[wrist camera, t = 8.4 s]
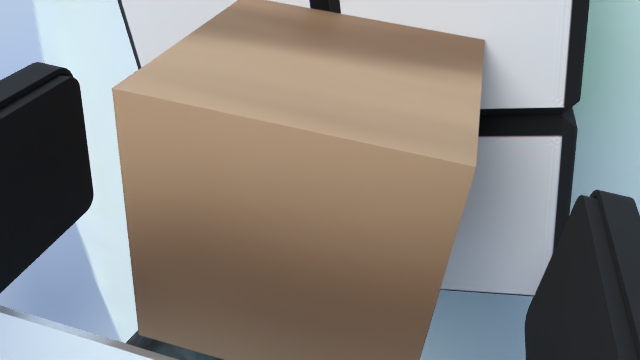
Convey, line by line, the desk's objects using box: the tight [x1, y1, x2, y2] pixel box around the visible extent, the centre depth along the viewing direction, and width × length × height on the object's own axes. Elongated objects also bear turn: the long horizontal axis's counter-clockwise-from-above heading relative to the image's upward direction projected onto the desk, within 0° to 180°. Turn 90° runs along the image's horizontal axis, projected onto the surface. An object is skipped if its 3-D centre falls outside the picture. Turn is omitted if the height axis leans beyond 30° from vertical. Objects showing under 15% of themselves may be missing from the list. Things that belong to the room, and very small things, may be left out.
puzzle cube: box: [118, 0, 589, 296], centre depth 17 cm, size 10×10×10 cm
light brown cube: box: [112, 0, 485, 360], centre depth 11 cm, size 5×5×5 cm
